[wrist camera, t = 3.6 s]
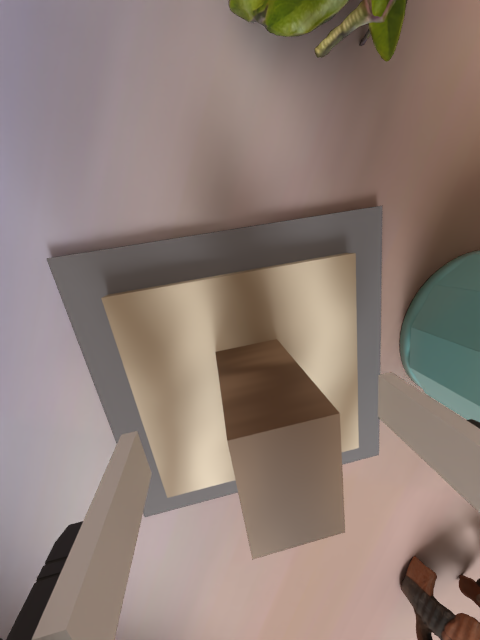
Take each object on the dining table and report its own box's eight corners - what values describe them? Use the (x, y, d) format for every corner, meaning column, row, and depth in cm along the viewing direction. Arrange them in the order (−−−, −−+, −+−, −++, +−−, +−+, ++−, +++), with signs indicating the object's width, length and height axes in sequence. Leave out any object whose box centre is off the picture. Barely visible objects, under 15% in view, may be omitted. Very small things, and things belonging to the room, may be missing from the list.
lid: (169, 485, 19) (144, 663, 11) (107, 294, 14) (-14, 352, 6) (351, 438, 20) (451, 564, 12) (346, 252, 16) (497, 255, 8)
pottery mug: (417, 530, 27) (533, 613, 21) (431, 513, 33) (522, 573, 27) (380, 641, 26) (488, 762, 20) (401, 602, 32) (488, 685, 26)
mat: (146, 510, 20) (144, 517, 19) (51, 258, 14) (46, 258, 13) (375, 450, 22) (378, 454, 21) (376, 207, 16) (382, 205, 15)
